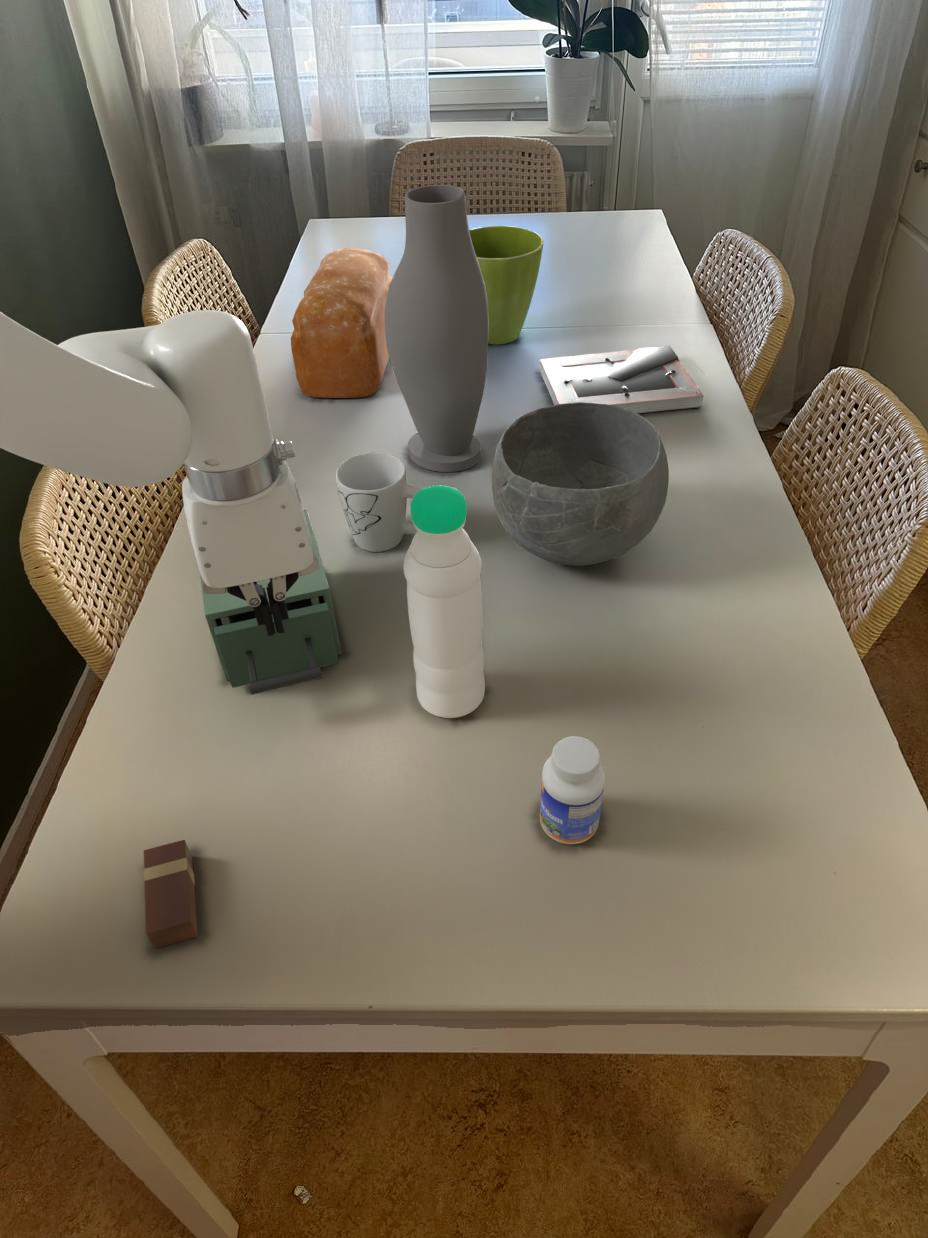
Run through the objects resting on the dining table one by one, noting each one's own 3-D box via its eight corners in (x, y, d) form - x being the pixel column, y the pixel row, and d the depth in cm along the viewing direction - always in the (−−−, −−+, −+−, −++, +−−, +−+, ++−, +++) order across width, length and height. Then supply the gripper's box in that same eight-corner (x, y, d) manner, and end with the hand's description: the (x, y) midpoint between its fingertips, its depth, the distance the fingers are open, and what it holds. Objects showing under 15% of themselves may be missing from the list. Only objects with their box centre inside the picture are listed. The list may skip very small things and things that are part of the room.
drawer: (349, 700, 89) (339, 646, 84) (237, 727, 87) (219, 674, 81) (318, 585, 102) (307, 532, 97) (220, 606, 100) (204, 553, 95)
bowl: (539, 480, 118) (542, 379, 108) (682, 522, 110) (700, 417, 100) (462, 564, 106) (457, 459, 96) (617, 619, 98) (630, 510, 87)
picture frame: (668, 359, 143) (539, 371, 141) (670, 345, 141) (539, 357, 139) (701, 409, 131) (560, 423, 129) (704, 394, 129) (561, 408, 127)
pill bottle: (529, 806, 80) (531, 739, 73) (582, 788, 81) (589, 720, 74) (555, 855, 76) (559, 789, 69) (610, 835, 77) (619, 768, 71)
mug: (442, 525, 112) (438, 459, 105) (423, 566, 106) (417, 498, 99) (359, 513, 114) (350, 448, 107) (335, 553, 108) (324, 486, 101)
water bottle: (497, 686, 91) (495, 487, 74) (461, 731, 87) (450, 531, 69) (441, 662, 94) (426, 465, 77) (403, 704, 89) (379, 506, 72)
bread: (294, 399, 137) (276, 302, 126) (326, 327, 156) (312, 237, 145) (380, 400, 136) (369, 302, 125) (402, 327, 155) (394, 237, 144)
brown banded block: (154, 949, 71) (145, 934, 69) (151, 866, 77) (142, 850, 75) (198, 936, 72) (191, 921, 70) (192, 855, 77) (184, 839, 75)
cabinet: (342, 654, 95) (329, 588, 89) (226, 680, 93) (205, 615, 86) (319, 573, 105) (307, 508, 99) (215, 595, 103) (195, 531, 97)
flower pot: (502, 309, 159) (501, 218, 148) (559, 335, 150) (562, 240, 139) (438, 334, 152) (432, 241, 141) (494, 363, 144) (492, 266, 133)
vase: (386, 470, 121) (356, 206, 98) (419, 424, 130) (399, 172, 106) (475, 485, 118) (467, 215, 94) (503, 436, 127) (502, 179, 103)
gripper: (313, 427, 76) (342, 584, 89) (139, 459, 73) (194, 617, 86) (329, 472, 71) (357, 633, 83) (141, 509, 68) (200, 670, 81)
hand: (274, 625), depth 85 cm, fingers closed
